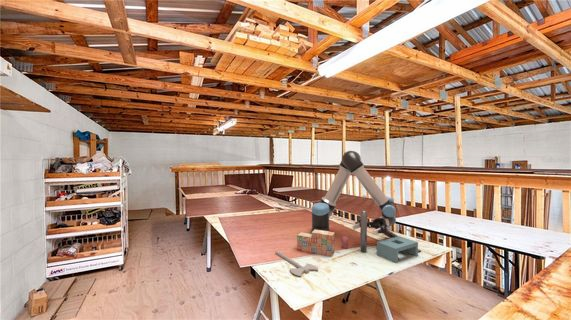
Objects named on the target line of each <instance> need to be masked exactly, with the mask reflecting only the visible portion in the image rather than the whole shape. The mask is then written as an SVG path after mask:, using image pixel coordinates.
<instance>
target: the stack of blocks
mask: <svg viewBox="0 0 571 320" xmlns="http://www.w3.org/2000/svg"><path fill="white" fill-rule="evenodd" d="M335 235H336V234H335V232H334V231H330V232H329V231H322V230H314V231H313V232H312V234H310V232H309V233H307V232H299V234H297V235H296V236H297V237H296V238H297V239H296V240H297V241H296V242H297V244H296V245H297V251H301V252H305V253H311V254H316V255H321V256H326V257H331V258H332V257H333V256H334V254H335V243H336V242H335V241H336V240H335Z"/></svg>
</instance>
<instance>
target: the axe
mask: <svg viewBox="0 0 571 320" xmlns="http://www.w3.org/2000/svg"><path fill="white" fill-rule="evenodd" d="M274 254H275V255H277V256H279V257H281V259H284V260H285V261H287V262H288V263H290V264H291V265H293V266H295V267H296V268H291V267H290V268H289V271H290V273H292V274H293V275H295V276H298V277H302V275H303V274H304V273H305V274H309V273H310V272H311V271H319V269H318V268H319V267H317V266H316V265H314V264H311V263H307V262H306V265H304V266H303V265H301V264H300V263H299V262H296V261H295V260H294V259H293V258H290V257H288V256H287V255H286V254H283V252H281V251H280V250H278V249H277V250H275V253H274Z"/></svg>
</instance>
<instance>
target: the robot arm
mask: <svg viewBox="0 0 571 320" xmlns="http://www.w3.org/2000/svg"><path fill="white" fill-rule="evenodd" d="M361 159H362V157H361V155H360V153H358V152H357V151H354V150H348V151H345V153H343V154H342V157H341V161H340V163H339V169H338V171H337V173H336V175H335V177H334V178H333V180H332V182H331V185H330V186H329V188H328V190H327V192H326V193H325V196H322V197H321V199H320V201H319V202H317V203H314V204H313V205H312V206H311V229H310V232H309V234H312V232H313V231H314V230H322V231H329V232H331V229H330V217H331V216H332V215H333V213H334V211H335V209H336V206H337V200H338V198H339V197H340V195H341V193H342V191H343V189H344V187H345V186H346V184H347V182H348V180H349V179H350V176H351V175H353V176H355V177H356V179H357V180H358V181H359V182H360V184H361V185H362V187H363V188H364V190H365V191H366V192H367V193H368V195H369V196H370V197H371V199H372V200H373V201H374V202H375V204H376V205H377V206H378V207H379V209H380V210H381V216H379V217H377V218H374V219H373V220H372V221H369V220H367V229H368V228H369V229H374V230H373V236H377V235H380V234H384V233H385V234H384V235H386V234H387V230H388V228H389V227H392V226H393V225H395V224H396V222H397V221H396V220H397V219H396V216H395V215H396V213H397V209H396V207H395V205H394V204H395V202H394V201H395V199H394V198H393V197H389V196H387V195H386V194H385V193H384V191H383V190H382V189H381V188H380V186H379V185H378V184H377V183H376V181H375V180H374V179H373V177H372V176H371V175H370V173H369V172H368V171H367V169H365V164H364V163H363V162H362V160H361ZM360 228H361V221H355V224H353V225H352V230H357V229H360ZM383 232H384V233H383Z"/></svg>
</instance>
